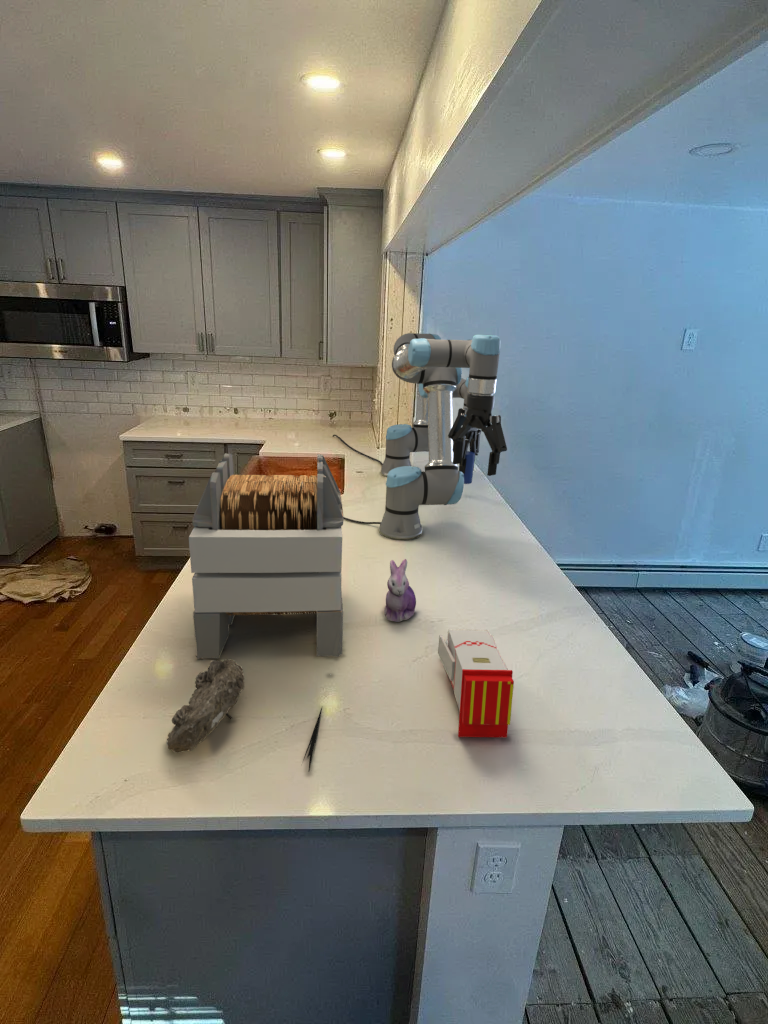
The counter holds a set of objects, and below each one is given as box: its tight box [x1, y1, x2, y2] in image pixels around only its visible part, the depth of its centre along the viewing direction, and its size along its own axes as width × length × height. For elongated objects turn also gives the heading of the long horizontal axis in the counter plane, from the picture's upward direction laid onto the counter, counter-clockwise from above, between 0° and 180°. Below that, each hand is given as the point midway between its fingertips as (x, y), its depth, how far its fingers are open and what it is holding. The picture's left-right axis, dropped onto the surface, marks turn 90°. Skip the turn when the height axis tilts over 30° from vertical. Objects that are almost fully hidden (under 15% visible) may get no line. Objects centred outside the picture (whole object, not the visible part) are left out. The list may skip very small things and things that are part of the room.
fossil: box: [166, 658, 245, 754], centre depth 106 cm, size 22×10×15 cm
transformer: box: [188, 452, 345, 660], centre depth 135 cm, size 34×33×41 cm
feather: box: [301, 673, 332, 771], centre depth 108 cm, size 2×28×2 cm
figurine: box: [384, 558, 417, 623], centre depth 145 cm, size 9×10×15 cm
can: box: [463, 450, 476, 485], centre depth 236 cm, size 6×6×13 cm
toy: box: [437, 628, 515, 738], centre depth 117 cm, size 12×13×30 cm
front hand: (473, 469), depth 162 cm, fingers open, 13 cm apart
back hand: (466, 471), depth 237 cm, fingers closed on can, 6 cm apart
